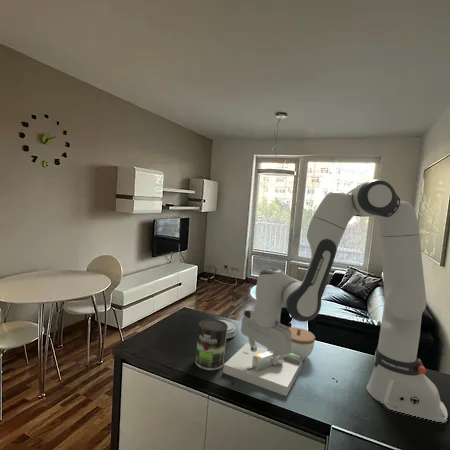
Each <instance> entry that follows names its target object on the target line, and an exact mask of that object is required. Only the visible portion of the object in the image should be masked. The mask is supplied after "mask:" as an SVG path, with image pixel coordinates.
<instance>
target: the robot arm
mask: <svg viewBox="0 0 450 450" xmlns="http://www.w3.org/2000/svg"><path fill="white" fill-rule="evenodd" d="M354 217H359V218H365V217H366V218H367V217H368V218H370V217H374V218H375V219H376V220H377V222H378V226H379V236H380V238H379V239H380V248H381V259H382V260H381V262H382V278H383V279H382V281H383V294H384V304H383V311H382V317H381V322H380V328H379V329H380V330H379V338H378V344H377V347H376V349H375V352H374V353H375V354H374V360H373V365H374V367H373V370H372V374H371V376H370V378H369V381H368V383H367V385H366V391H367V392H368V393H369V395H370V396H371V397H372V398H373V399H374V400H376V401H378V402H379V401H380V402H379V403H380V404H382V403H383V404H384V405H385V406H386V407H387V408H388V409H390V410H393V411H397V412H401V413H405V414H409V415H412V416H411V417H413V416H416V417H415V418H417V417H420V418H419V419H421V418H424V419H423V420H425V419H428V420H427V421H429V420H432V421H431V422H433V421H436V422H435V423H437V422H442V423H444V422H445V423H447V421H448V419H447V418H448V416H449V415H448V410H447V408H446V406H445V404H444V402H443V401H441V396H440V394H439V393H440V392H439V390H438V388H437V386H436V385H435V384H434V382H432V380H431V379H429V378H428V376H426V373H427V370H426V367H425V366H424V363H423V362H422V360H421V359H420V358H418V357H417V355H418V349H419V344H420V337H421V325H422V317H423V312H425V309H426V307H427V295H426V283H425V275H424V267H423V259H422V258H423V256H422V255H423V254H422V248H421V247H422V246H421V236H420V227H419V221H418V218H417V214H416V211H415V207H414V206H413V205H412V204H411V203H410V202H408V201H405V200H401V198H400V197H399V196H398V194H397V193H396V190H395V188H394V187H393V186H392V184H391V183H389V182H387V181H386V180H383V179H371V180H368V181H365V182H362V183H360V184H358V185H357V186H356V187H354V188H353V189H351V190H350V191H348V192H347V193H344V191H343V192H342V191H339V190H338V191H337V190H336V191H329V192H328V193H326V195H325V196H324V198H323V199H322V200H321V201H320V203H319V205H318V206H317V208H316V210H315V212H314V214H313V215H312V217H311V220H310V222H309V225H308V228H307V231H306V239H307V242H308V245H309V246H310V252H311V257H310V261H309V264H308V266H307V269H306V272H305V274H304V277H303V280H302V281H301V280H299V279H296V278H294V277H291V276H289V275H288V274H287V273H285V272H284V271H283V270H282V269H280V268H271V267H270V268H266V269H263V270H261V271H260V272H259V274H258V277H257V281H256V286H255V287H256V288H255V304H254V307H249V308H246V309H243V311H242V315H243V317H242V318H241V326H240V330H241V334H242V335H243V336H246V337H247V338H248V343H249V344H250V346H251V348H250V350H251V351H252V352H256V351H257V346H258V345H256V343H258V344H260V345H261V346H263V347H265V348H266V349H270V350H272V351H274V355H275V356H274V357H271V361H270V362H271V363H272V364H274V365H275V364H277V360H278V358H279V356H280V355H281V356H286V355H288V354H290V353H291V346H292V345H291V331H290V329H289V326H287V325H285V324H283V323H281V314H282V309H283V308H285V309H287V312H288V314H289V315H290V317H291V318H292V319H294V320H295V321H297V322H309V321H312V320H313V319H315V318H316V317H317V316H318V315H319V313H320V311H321V309H322V308H321V307H322V295H323V290H324V288H325V285H326V282H327V280H328V278H329V275H330V272H331V269H332V267H333V264H334V261H335V259H336V255H337V250H338V248H339V244H340V243H341V240H342V238H343V236H344V233H345V231H346V229H347V227H348V225H349V222H351V220H352V218H354ZM287 329H288V330H287ZM383 404H382V405H383ZM384 405H383V406H384ZM385 406H384V407H385ZM386 407H385V408H386ZM387 408H386V409H387ZM388 409H387V410H388ZM390 410H389V411H390ZM393 411H392V412H393ZM397 412H396V413H397ZM401 413H400V414H401ZM405 414H404V415H405ZM409 415H408V416H409ZM442 423H441V424H442ZM445 423H444V424H445Z"/></svg>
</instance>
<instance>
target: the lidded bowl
mask: <svg viewBox="0 0 450 450" xmlns="http://www.w3.org/2000/svg"><path fill="white" fill-rule="evenodd" d="M288 328H289V329H290V331H291V345H292V346H291V353H292V354H295V355H299V356H300V358H301V360H302V361H304V360H306V359H307V358H308V357H309V356H310V355H311V354H312V352H313V350H314V345H315V340H316V336H315V334H313V332H311V331H309V330H307V329H304V328H301V327H293V326H291V327H290V326H288ZM287 330H288V329H287Z"/></svg>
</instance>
